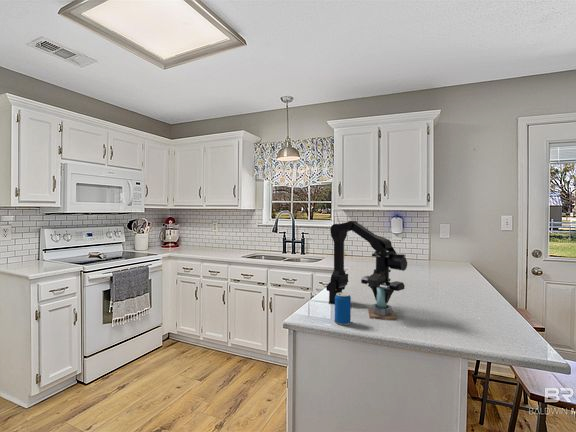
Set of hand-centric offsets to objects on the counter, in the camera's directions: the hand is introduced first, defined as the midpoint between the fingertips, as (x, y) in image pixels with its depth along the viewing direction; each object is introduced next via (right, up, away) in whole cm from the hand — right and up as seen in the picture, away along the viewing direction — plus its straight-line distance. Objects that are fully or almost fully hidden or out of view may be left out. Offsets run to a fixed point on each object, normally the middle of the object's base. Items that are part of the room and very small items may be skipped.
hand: (381, 302), depth 145 cm
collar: (0, -6, 0) cm, 6 cm away
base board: (0, -6, 0) cm, 6 cm away
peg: (0, -4, 0) cm, 4 cm away
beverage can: (-19, -6, -10) cm, 23 cm away
